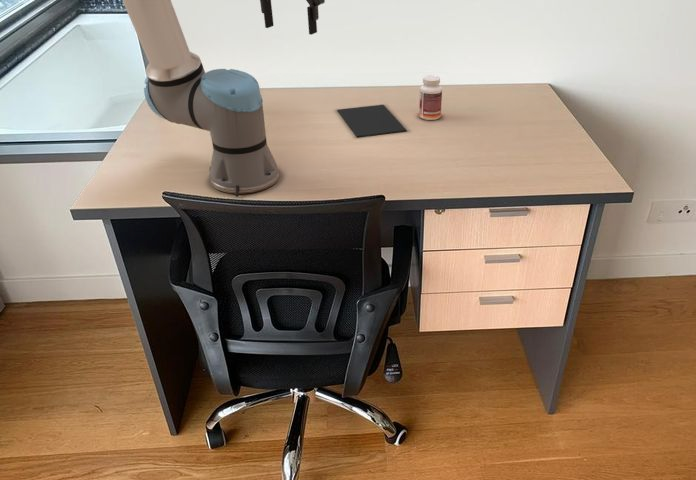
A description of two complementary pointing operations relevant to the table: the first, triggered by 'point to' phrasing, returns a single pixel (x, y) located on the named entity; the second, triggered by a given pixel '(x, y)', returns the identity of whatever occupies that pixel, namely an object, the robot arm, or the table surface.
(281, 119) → the table surface
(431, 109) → the pill bottle
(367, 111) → the mat
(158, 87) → the robot arm
